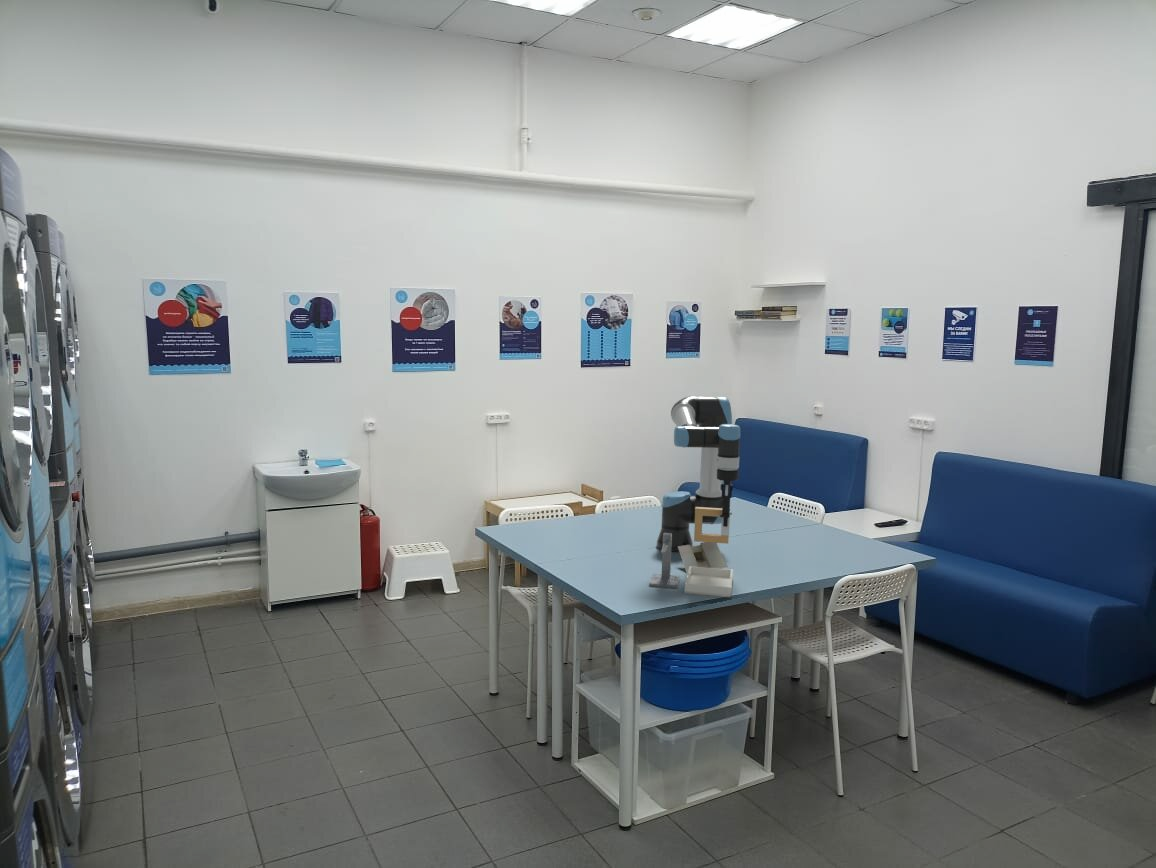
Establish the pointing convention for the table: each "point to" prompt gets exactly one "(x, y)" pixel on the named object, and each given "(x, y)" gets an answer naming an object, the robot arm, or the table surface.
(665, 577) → the hook stand
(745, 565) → the table surface
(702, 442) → the robot arm
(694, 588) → the tray
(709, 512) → the picture frame
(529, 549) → the table surface
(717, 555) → the grey angular piece
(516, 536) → the table surface
